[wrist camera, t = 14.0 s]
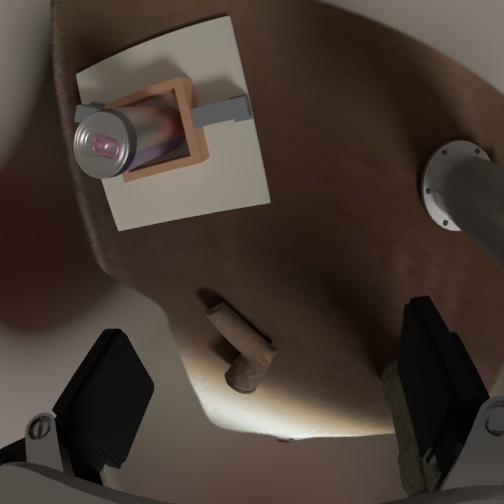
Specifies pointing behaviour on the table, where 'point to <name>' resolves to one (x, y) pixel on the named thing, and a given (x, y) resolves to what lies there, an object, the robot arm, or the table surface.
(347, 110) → the table surface
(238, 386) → the pipe
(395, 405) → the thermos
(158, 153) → the beverage can
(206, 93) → the white board with box
